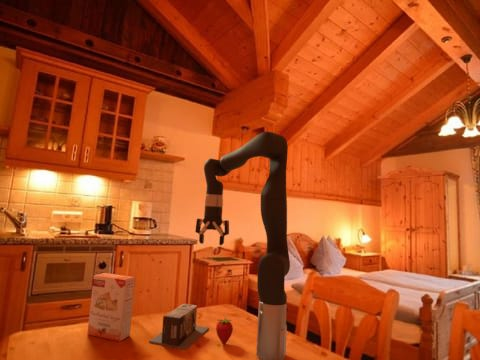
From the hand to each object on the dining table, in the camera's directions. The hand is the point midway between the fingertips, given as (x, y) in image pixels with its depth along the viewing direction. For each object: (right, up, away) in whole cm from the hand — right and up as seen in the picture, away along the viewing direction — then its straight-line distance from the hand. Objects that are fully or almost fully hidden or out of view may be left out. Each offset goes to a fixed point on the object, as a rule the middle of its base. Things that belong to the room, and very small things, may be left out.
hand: (211, 244), depth 126 cm
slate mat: (-10, -30, -15) cm, 35 cm away
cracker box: (-35, -29, -19) cm, 49 cm away
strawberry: (+6, -31, -21) cm, 38 cm away
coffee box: (-8, -26, -9) cm, 29 cm away
